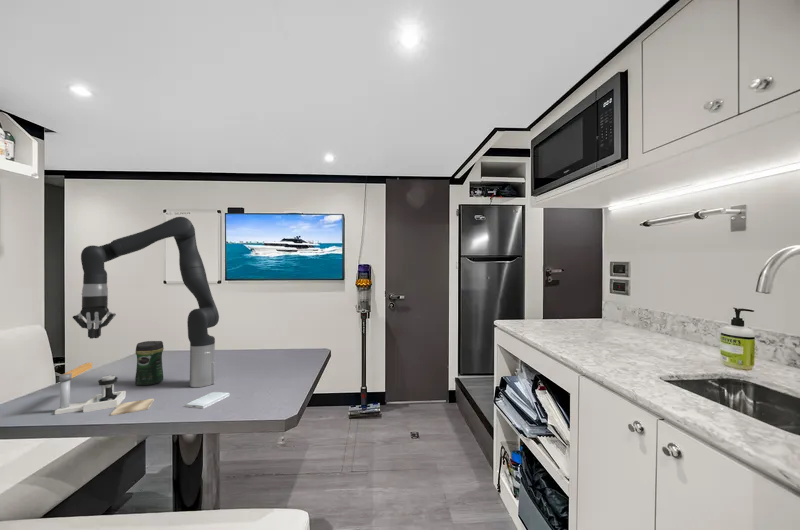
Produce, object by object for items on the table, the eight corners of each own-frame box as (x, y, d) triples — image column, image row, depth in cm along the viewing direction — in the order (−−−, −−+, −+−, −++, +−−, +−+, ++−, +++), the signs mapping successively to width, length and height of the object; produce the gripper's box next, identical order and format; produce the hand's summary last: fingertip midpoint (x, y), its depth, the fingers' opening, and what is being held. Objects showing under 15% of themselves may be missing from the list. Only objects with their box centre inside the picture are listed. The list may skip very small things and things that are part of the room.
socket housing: (125, 397, 124) (126, 370, 125) (116, 407, 115) (117, 378, 115) (66, 406, 116) (66, 377, 117) (51, 417, 107) (51, 386, 107)
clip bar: (68, 380, 112) (68, 374, 112) (57, 381, 111) (57, 376, 111) (93, 367, 129) (93, 362, 129) (84, 368, 127) (84, 363, 128)
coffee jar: (166, 379, 145) (167, 339, 146) (154, 385, 137) (155, 342, 138) (144, 380, 145) (145, 339, 145) (131, 386, 137) (131, 343, 137)
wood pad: (153, 400, 121) (153, 398, 121) (147, 409, 112) (147, 407, 112) (119, 405, 116) (119, 403, 116) (110, 415, 107) (110, 413, 107)
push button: (101, 408, 114) (102, 380, 114) (89, 407, 115) (90, 379, 115) (120, 401, 120) (121, 374, 121) (109, 400, 121) (109, 374, 122)
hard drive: (212, 391, 126) (184, 403, 114) (229, 392, 124) (203, 405, 112) (212, 395, 126) (184, 408, 114) (229, 397, 124) (203, 410, 112)
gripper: (120, 294, 134) (119, 335, 134) (78, 295, 129) (77, 338, 128) (112, 294, 127) (111, 338, 127) (67, 296, 122) (66, 341, 121)
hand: (94, 338), depth 128 cm, fingers closed
